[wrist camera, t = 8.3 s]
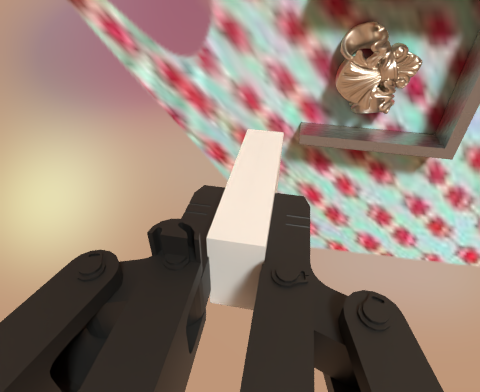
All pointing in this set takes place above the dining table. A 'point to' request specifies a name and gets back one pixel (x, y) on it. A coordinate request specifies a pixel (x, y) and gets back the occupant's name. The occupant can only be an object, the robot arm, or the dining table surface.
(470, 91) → the frame
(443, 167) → the dining table surface
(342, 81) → the ornament
